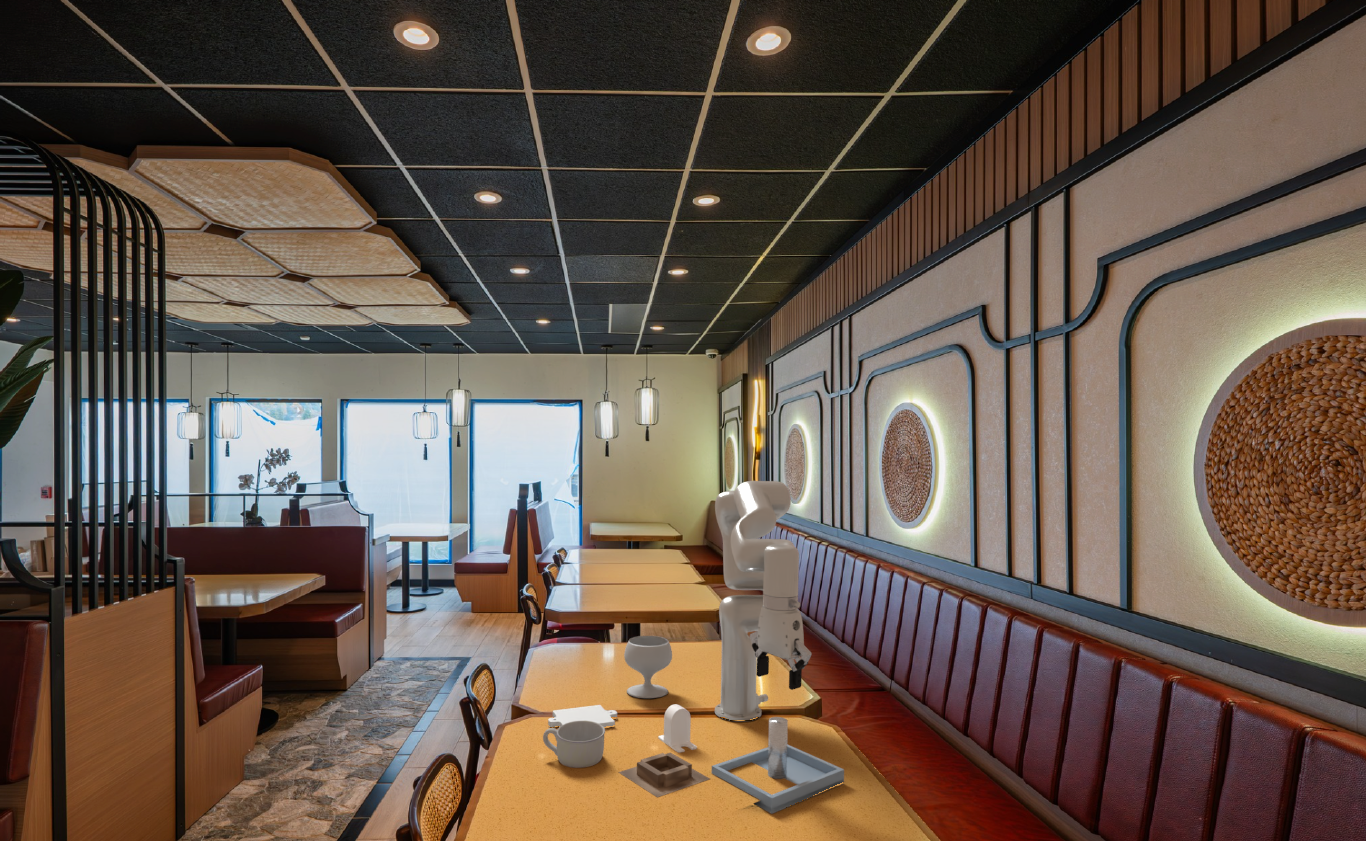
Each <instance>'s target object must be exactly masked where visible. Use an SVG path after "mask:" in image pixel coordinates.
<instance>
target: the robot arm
mask: <svg viewBox="0 0 1366 841" xmlns="http://www.w3.org/2000/svg"><path fill="white" fill-rule="evenodd" d="M791 499H792V498H791V492H790V490H789V488H788V486H787V485H786V484H785V483H783V482H782V481H777V480H775V481H774V480H768V481H767V480H749V481H748V480H747V481H744V482H741V483H740V484H738V485H737V486H736V488H735V489H734V490H728V491H723V492H721V493H719V494H718V495H717V496H716V498H715V502H714V509H715V511H714V512H715V518H716V522H717V524H718V527H719V531H720V533H721V534H720V535H721V537H722V543H723V544H722V557H723V561H722V562H723V563H722V565H723V581H724V583H725V585H726V587H727V588H728V589H730V590H735V591H738V590H739V591H762V594H761V595H760V594H735V595H729V596H726V597H724V598H723V599H721V601H720V603H719V606H718V607H719V608H718V610H719V611H718V614H719V615H718V617H719V622H720V623H719V624H720V632H721V633H720V634H721V664H720V665H721V668H720V669H721V670H720V672H721V673H720V703H719V704H717V705H716V706H715V707H714V713H715V715H716V716H717V717H719V718H720V717H725V718H727V719H729V720H728V721H730V720H750V719H753V718H756V717H759V718H761V717H762V709H761V707H760V706H759V705H760V704H762V703H765V702H768V701H769V696H768V694H766V693H764V694H760V695H758V693H757V677H758V678H759V677H763V676H768V675H769V672H770V671H769V670H770V667H769V666H770V665H769V664H770V658H769V655H771V656H774V657H777V658H780V659H783V660H787V662H788V664H789V667H790V670H789V673H788V688H789V689H790V690H792V691H793V690H797V689H799V688H801V687H802V677H803V675H802V673H803V672H802V670H804V669H805V667H806V666H807V665H809V661H810V659H811V656H812V652H811V650H809V649H808V648H807V647H806V646H805V641H804V640H805V639H804V624H803V623H804V622H803V617H802V614H801V611H800V610H799V608H800V607H801V602H800V601H799V566H800V562H799V561H800V557H799V556H800V554H799V553H800V552H799V550H798V548H797V547H796V546H795V545H794V543H793V541H791V540H790V539H783V538H781V539H779V538H761V537H764V536H767V535H768V534H769V533H771V532H772V531H773V530H774V528H775V526H776V525H777V520H779V519H781V518H782V517H783V516H784V515H785V514H787V513H788V511H789V510H790V509H791V508H790V507H791V503H792V500H791ZM750 632H752V633H750ZM748 633H750V634H749V635H748Z"/></svg>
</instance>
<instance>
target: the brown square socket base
mask: <svg viewBox="0 0 1366 841" xmlns="http://www.w3.org/2000/svg"><path fill="white" fill-rule="evenodd" d="M618 774H620V775H621V776H623V777H625V778H626V779H628V780H629V781H631V782H632V783H634V784H636V786H639V787H640V788H642V789H643V790H645V791H646V792H647V793H650V794H651V795H652V796H654V797H656V798H660V797H663V796H666V795H669V794H671V793H675V792H677V791H680V790H683V789H685V788H689V787H691V786H695V785H698V784H701V783H703V782H706V781H709V780H711V778H710V777H708V776H706V775H705V774H702V773H701V772H699V771H697V770H696V769H693V764H692V763H690V762H688V761H686V760H684V759H683V758H681V757H680V756H677V755H676V754H673V753H672V752H668V753H667V752H666V753H664V752H662V753H658V754H655V755H652V756H649V757H645V758H642V759H640V761H638V762H636V766H634V767H630V768H627V769H625V770H621V771H618Z"/></svg>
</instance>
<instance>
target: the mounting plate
mask: <svg viewBox="0 0 1366 841" xmlns="http://www.w3.org/2000/svg"><path fill="white" fill-rule="evenodd" d="M553 717H554V718H553ZM611 717H617V718H618V712H617V710H615V709H614V710H613V709H610V710H606V709H605V708H604V707H603V706H602V705H601V704H595V705H589V706H579V707H573V708H572V707H571V708H563V709H562V708H561V709H556V710H555V709H554V710H552V717H550V718H548V719H547V720H548V723H547V725H549V726H550V727H555V726H560V727H561V726H562V725H564V724H566V723H569V722H573V721H592V722H596V723H599V724H600V725H602V726H603V727H606V726H613V725H615V726H616V722H615V721H616V720H613V719H612V718H611ZM549 726H548V727H549ZM550 727H549V728H550Z"/></svg>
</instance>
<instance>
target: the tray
mask: <svg viewBox="0 0 1366 841" xmlns="http://www.w3.org/2000/svg"><path fill="white" fill-rule="evenodd" d="M750 763H753V764H754V765H757V766H759V767H761V768H762V769H764V770H766V771H768V747H764V748H761V749H759V750H756V751H752V752H749V753H746V754H743V755H741V756H737V757H735V758H732V759H728V760H726V761H722V762H719V763H716V764H714V765H711V774H712V775H714V776H715V777H718V778H719V779H721V780H723V781H725V782H727V783H728V784H730V785H731V786H733V787H736V788H738V789H740V790H741V791H743V792H745V793H746V794H748V795H751V797H754V798H756V799H758V801H756V802H754V803H752V804H753V805H755V806H757V807H759V808H761V809H762V810H764V811H766V813H767V812H768V813H769V814H771V815H773V814H775V813H777V812H780V811H782V810H784V809H787V808H789V807H791V806H790V805H792V806H794V805H796V804H795V803H797V802H799V803H801V802H803V801H802V800H804V799H806V800H808V799H807V798H809V797H811V798H813V797H814V796H813V795H815V794H818V793H819V792H822V791H824V790H826V789H829V788H830V787H833V786H835V785H837V784H840V783H842V782H844V783H845V769H844V768H841V767H840V766H837V765H835V764H833V763H830V762H829V761H826V760H824V759H821V758H819V757H817V756H814V755H812V754H810V753H808V752H806V751H804V750H801V749H799V748H797V747H795V746H792V745H789V744H788V743H787V779H786V780H787V781H789V782H791V783H793V784H795V785H794V786H791V787H788V788H785V789H783V790H780V791H778V792H775V793H772V794H771V793H770V792H767V791H765V790H764V789H762V788H760V787H758V786H756V785H754V784H752V783H751V782H748V781H746V780H744V779H742V778H741V777H740V776H737V775H736V774H733V773H732V772H730V771H731V770H732V769H733V770H734V769H735V768H739V767H742V766H745V765H748V764H750ZM818 795H819V794H818ZM812 796H813V797H812ZM809 799H810V798H809ZM804 801H805V800H804ZM797 804H798V803H797ZM786 807H787V808H786Z"/></svg>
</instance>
